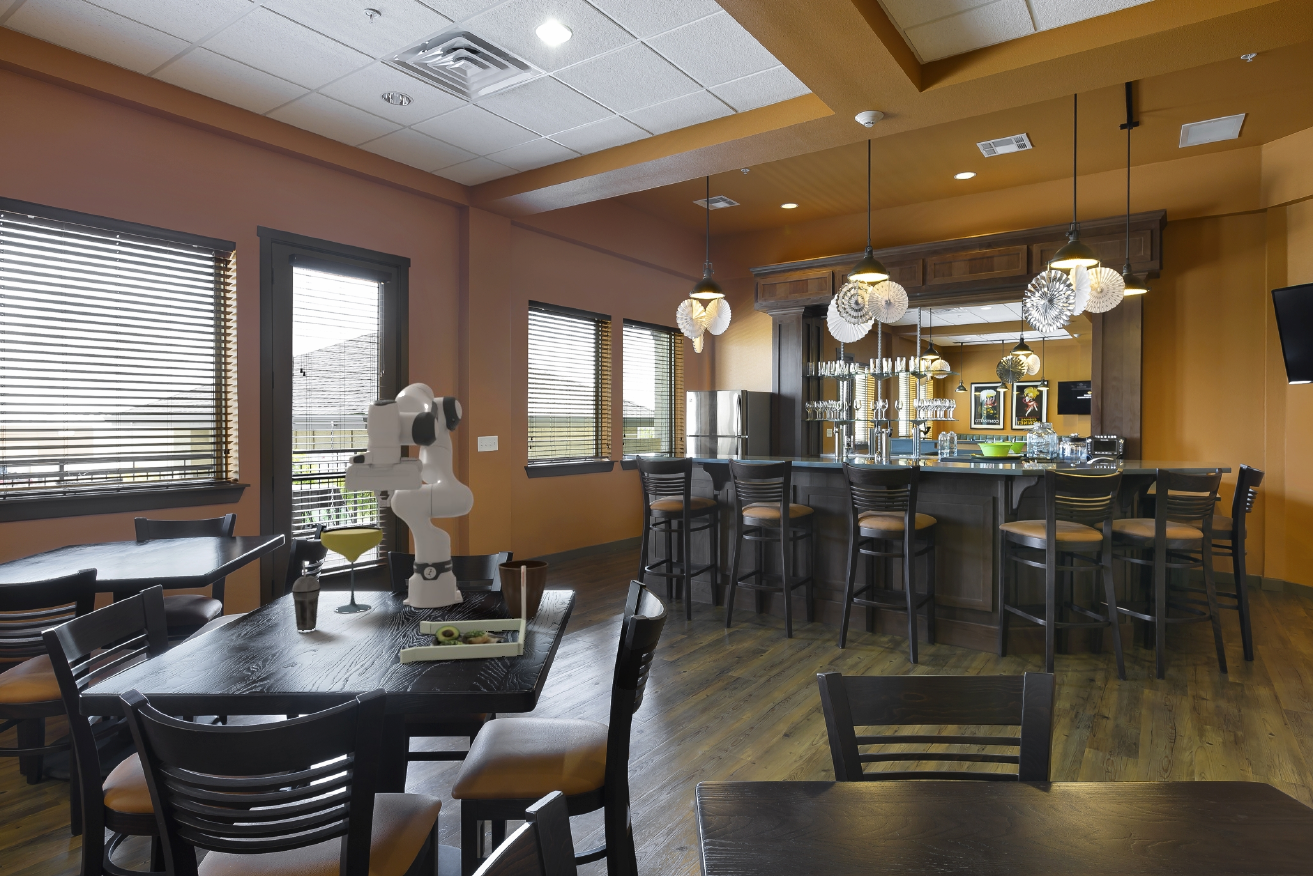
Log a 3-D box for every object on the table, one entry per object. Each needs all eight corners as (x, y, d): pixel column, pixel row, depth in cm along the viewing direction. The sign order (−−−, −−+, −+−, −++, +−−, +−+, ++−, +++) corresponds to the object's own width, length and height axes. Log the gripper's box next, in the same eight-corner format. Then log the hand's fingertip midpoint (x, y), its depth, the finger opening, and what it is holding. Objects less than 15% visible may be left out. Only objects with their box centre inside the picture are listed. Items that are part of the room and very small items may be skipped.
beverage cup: (326, 627, 202) (325, 557, 202) (311, 634, 195) (310, 562, 195) (302, 627, 203) (301, 557, 203) (286, 634, 195) (285, 562, 195)
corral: (420, 631, 198) (420, 567, 198) (526, 627, 202) (526, 564, 202) (399, 664, 170) (399, 589, 170) (522, 658, 174) (522, 585, 174)
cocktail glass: (325, 604, 229) (325, 528, 229) (385, 600, 235) (384, 525, 235) (316, 618, 212) (316, 535, 212) (381, 613, 217) (380, 532, 217)
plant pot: (509, 609, 222) (509, 559, 222) (555, 611, 220) (554, 560, 220) (490, 622, 207) (490, 568, 207) (538, 624, 205) (538, 569, 205)
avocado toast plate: (508, 635, 195) (508, 618, 195) (505, 655, 178) (505, 636, 178) (436, 638, 192) (436, 621, 192) (425, 659, 174) (425, 640, 174)
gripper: (424, 456, 202) (424, 504, 202) (349, 457, 199) (349, 506, 199) (420, 457, 196) (420, 507, 196) (343, 458, 193) (343, 508, 193)
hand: (384, 506), depth 198 cm, fingers closed
